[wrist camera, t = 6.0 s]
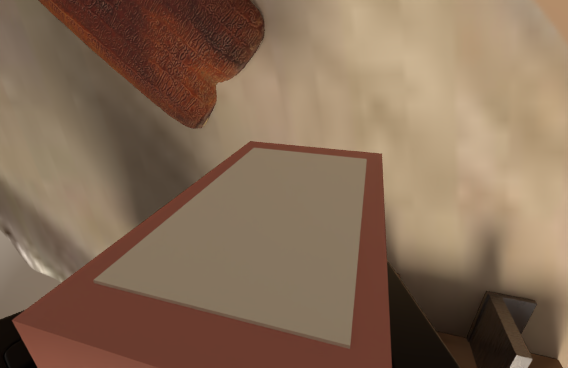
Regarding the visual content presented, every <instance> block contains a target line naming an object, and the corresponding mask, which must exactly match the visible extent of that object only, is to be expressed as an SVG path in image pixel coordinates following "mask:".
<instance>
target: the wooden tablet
mask: <svg viewBox="0 0 568 368" xmlns="http://www.w3.org/2000/svg"><path fill="white" fill-rule="evenodd" d="M39 1H40V2H41V3H42V4H43V5H44V6H45V7H46V8H47V9H48V10H49V11H50V12H51V13H52V14H53V15H54V16H55V17H57V18H58V19H59V20H60V21H61V22H62V23H64V24H65V25H66V26H67V27H68V28H69V29H70V30H71V31H72V32H73V33H74V34H75V35H76V36H77V37H79V38H80V39H81V40H82V41H83V42H84V43H85V44H86V45H87V46H88V47H90V48H91V49H92V50H93V51H94V52H95V53H96V54H97V55H99V56H100V57H101V58H102V59H103V60H105V61H106V62H107V63H108V64H109V65H110V66H111V67H112V68H113V69H114V70H116V71H117V72H118V73H119V74H121V75H122V76H123V77H124V78H126V79H127V80H128V81H129V82H130V83H132V84H133V85H134V86H135V87H136V88H137V89H138V90H140V91H141V93H143V94H144V95H145V96H146V97H147V98H149V99H150V100H151V101H152V102H153V103H154V104H156V105H157V106H158V107H160V108H161V109H162V110H163V111H164V112H166V113H167V114H168V115H169V116H171V117H172V118H174V119H176V120H177V121H179V122H180V123H182V124H183V125H185V126H187V127H190V128H193V129H194V128H202V127H203V126H204V125H205V124H206V122H207V121H208V119H209V116H210V114H211V112H212V111H213V108H214V106H215V103H216V97H217V95H216V84H217V83H218V82H223V81H226V80H229V79H231V78H233V77H234V76H235V75H237V74H238V73H239V72H240V71H241V70H242V69H243V68H244V67H245V65H246V64H247V63H248V62H249V60H250V59H251V58H252V56H253V55H254V53H255V52H256V50H257V49H258V47H259V45H260V43H261V41H262V40H263V38H264V31H265V30H264V21H263V18H262V16H261V14H260V12H259V10H258V9H257V8H256V7H255V6H254V5H253V3H252V2H251V1H249V0H39Z"/></svg>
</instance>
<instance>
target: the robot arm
mask: <svg viewBox="0 0 568 368" xmlns="http://www.w3.org/2000/svg"><path fill="white" fill-rule="evenodd" d="M387 274H388V295H389V316H390V338H391V359H392V368H461V367H460V366H459V365H458V363H457V362H456V360H455V359H454V357H453V356H452V354H451V353H450V351H449V350H448V348H447V347H446V345H445V344H444V343H443V341H442V340H441V338H440V337H439V335H438V334H437V332H436V331H435V329H434V328H433V326H432V325H431V324H430V322H429V321H428V319H427V318H426V316H425V315H424V313H423V312H422V310H421V309H420V307H419V306H418V304H417V303H416V302H415V300H414V299H413V297H412V296H411V294H410V293H409V291H408V290H407V288H406V287H405V285H404V284H403V283H402V281H401V280H400V278H399V277H398V275H397V274H396V272H395V271H394V269H393V268H392V266H391V265H390V263H389V262H388V261H387ZM24 311H25V310H24ZM22 312H23V311H21V312H18V313H16V314H13V315H11V316H8V317H5V318H3V319H0V368H38V367H37V366H36V364H35V362H34V360H33V358H32V356H31V355H30V353H29V351H28V349H27V347H26V345H25V344H24V342H23V340H22V338H21V336H20V334H19V333H18V331H17V329H16V327H15V325H14V323H13V322H12V320H13V319H14V318H15V317H17V316H18V315H19V314H21V313H22Z"/></svg>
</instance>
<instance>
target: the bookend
mask: <svg viewBox="0 0 568 368" xmlns="http://www.w3.org/2000/svg"><path fill="white" fill-rule="evenodd" d="M536 305H537V303H536V302H535V301H534V300H529V299H524V298H518V297H513V296H508V295H503V294H498V293H493V292H488V291H486V293H485V295H484V298H483V300H482V303H481V305H480V307H479V310H478V312H477V315H476V317H475V320H474V322H473V324H472V327H471V329H470V332H469V334H468V336H467V341H468V342H469V343H470V346H471V350H472V353H473V356H474V359H475V363H476V366H477V368H528V366H529V365H530V363H531V361H532V360H533V358H532V356H531V354H530V352H529V350H528V348H527V346H526V344H525V342H524V340H523V338H522V336H521V333H522V332H523V330H524V328H525V326H526V324H527V322H528V320H529V318H530V316H531V315H532V313H533V311H534V309H535V307H536Z"/></svg>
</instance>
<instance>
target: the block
mask: <svg viewBox="0 0 568 368" xmlns="http://www.w3.org/2000/svg"><path fill="white" fill-rule="evenodd" d="M12 322H13V323H14V325H15V327H16V329H17V331H18V333H19V334H20V336H21V338H22V340H23V342H24V344H25V345H26V347H27V349H28V351H29V353H30V355H31V356H32V358H33V360H34V362H35V364H36V366H37V367H38V368H392V359H391V338H390V316H389V295H388V274H387V252H386V231H385V210H384V188H383V167H382V154H379V153H368V152H358V151H347V150H337V149H326V148H316V147H305V146H295V145H284V144H274V143H263V142H253V141H250V142H249V143H247V144H246V145H245V146H243V147H242V148H241V149H239V150H238V151H237V152H235V153H234V154H233V155H231V156H230V157H229V158H227V159H226V160H225V161H223V162H222V163H221V164H219V165H218V166H217V167H215V168H214V169H213V170H211V171H210V172H209V173H207V174H206V175H205V176H203V177H202V178H201V179H199V180H198V181H197V182H195V183H194V184H193V185H191V186H190V187H189V188H187V189H186V190H185V191H183V192H182V193H181V194H179V195H178V196H177V197H175V198H174V199H173V200H171V201H170V202H169V203H167V204H166V205H165V206H163V207H162V208H161V209H159V210H158V211H157V212H155V213H154V214H153V215H151V216H150V217H149V218H147V219H146V220H145V221H143V222H142V223H141V224H139V225H138V226H137V227H135V228H134V229H133V230H131V231H130V232H129V233H127V234H126V235H125V236H123V237H122V238H121V239H119V240H118V241H117V242H115V243H114V244H113V245H111V246H110V247H109V248H107V249H106V250H105V251H103V252H102V253H101V254H99V255H98V256H97V257H95V258H94V259H93V260H91V261H90V262H89V263H87V264H86V265H85V266H83V267H82V268H81V269H79V270H78V271H77V272H75V273H74V274H73V275H71V276H70V277H69V278H67V279H66V280H65V281H63V282H62V283H61V284H59V285H58V286H57V287H55V288H54V289H53V290H52V291H50V292H49V293H47V294H46V295H45V296H43V297H42V298H41V299H40V300H38V301H37V302H35V303H34V304H33V305H31V306H30V307H29V308H27V309H26V310H25V311H23V312H22V313H21V314H19V315H18V316H17V317H15V318H14V319H13V320H12Z"/></svg>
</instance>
